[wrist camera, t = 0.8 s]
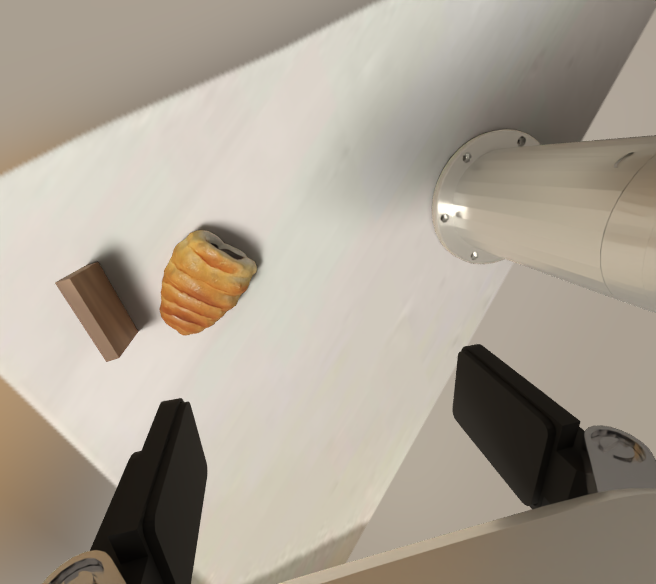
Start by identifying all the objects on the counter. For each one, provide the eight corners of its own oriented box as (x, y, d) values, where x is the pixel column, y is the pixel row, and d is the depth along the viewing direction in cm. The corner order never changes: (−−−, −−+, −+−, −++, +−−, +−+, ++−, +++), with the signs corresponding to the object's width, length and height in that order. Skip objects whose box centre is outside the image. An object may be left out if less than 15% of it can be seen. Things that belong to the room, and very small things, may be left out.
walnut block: (97, 261, 27) (69, 278, 23) (138, 331, 30) (119, 357, 26) (85, 265, 27) (55, 282, 23) (127, 335, 30) (106, 362, 26)
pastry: (213, 338, 32) (207, 358, 28) (144, 307, 29) (128, 325, 26) (261, 259, 30) (262, 270, 26) (192, 219, 28) (182, 226, 24)
